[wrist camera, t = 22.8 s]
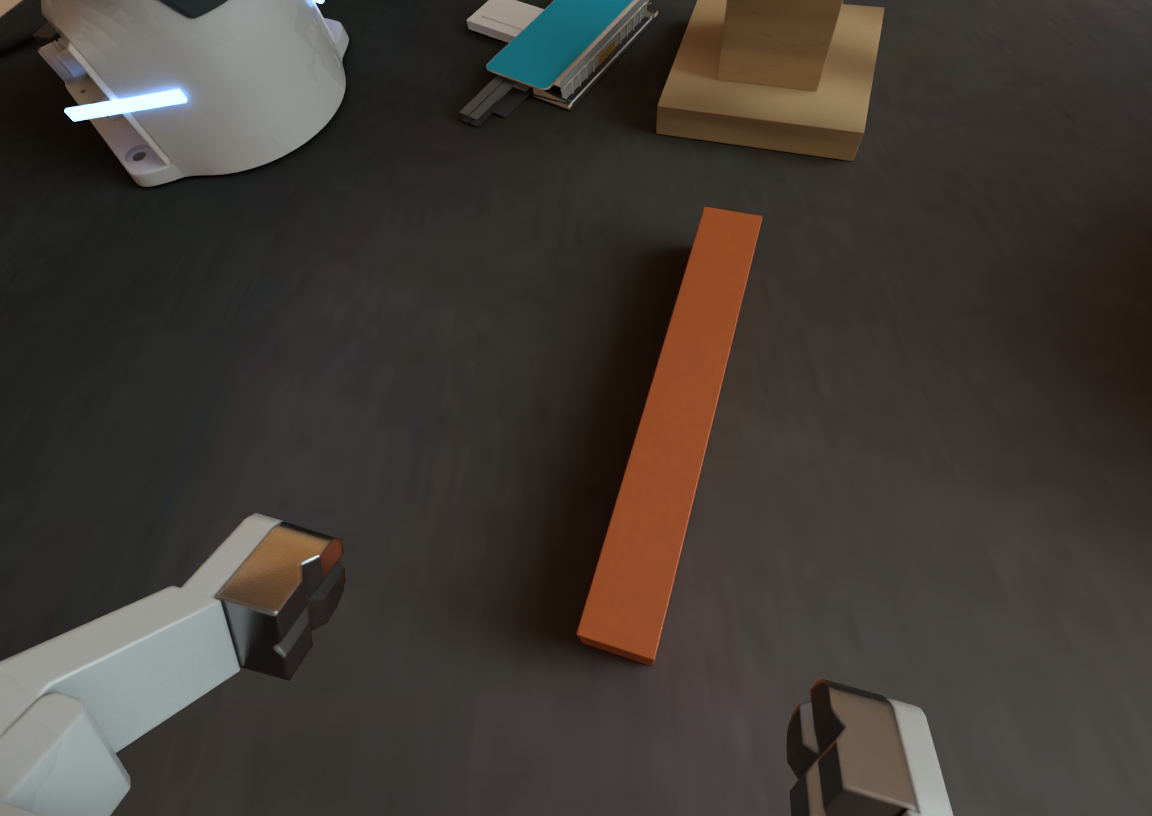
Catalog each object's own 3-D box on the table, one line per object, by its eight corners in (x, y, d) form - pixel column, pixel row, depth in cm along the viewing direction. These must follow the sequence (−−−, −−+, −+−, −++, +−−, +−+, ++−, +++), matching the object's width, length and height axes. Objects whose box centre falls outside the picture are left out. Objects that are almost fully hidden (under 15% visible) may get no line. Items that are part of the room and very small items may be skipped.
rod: (652, 666, 25) (654, 660, 22) (582, 643, 25) (575, 634, 23) (752, 255, 34) (762, 215, 31) (699, 245, 34) (704, 206, 32)
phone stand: (558, -50, 49) (555, -74, 48) (687, -15, 46) (689, -40, 44) (397, 94, 43) (388, 72, 41) (533, 150, 39) (529, 128, 37)
